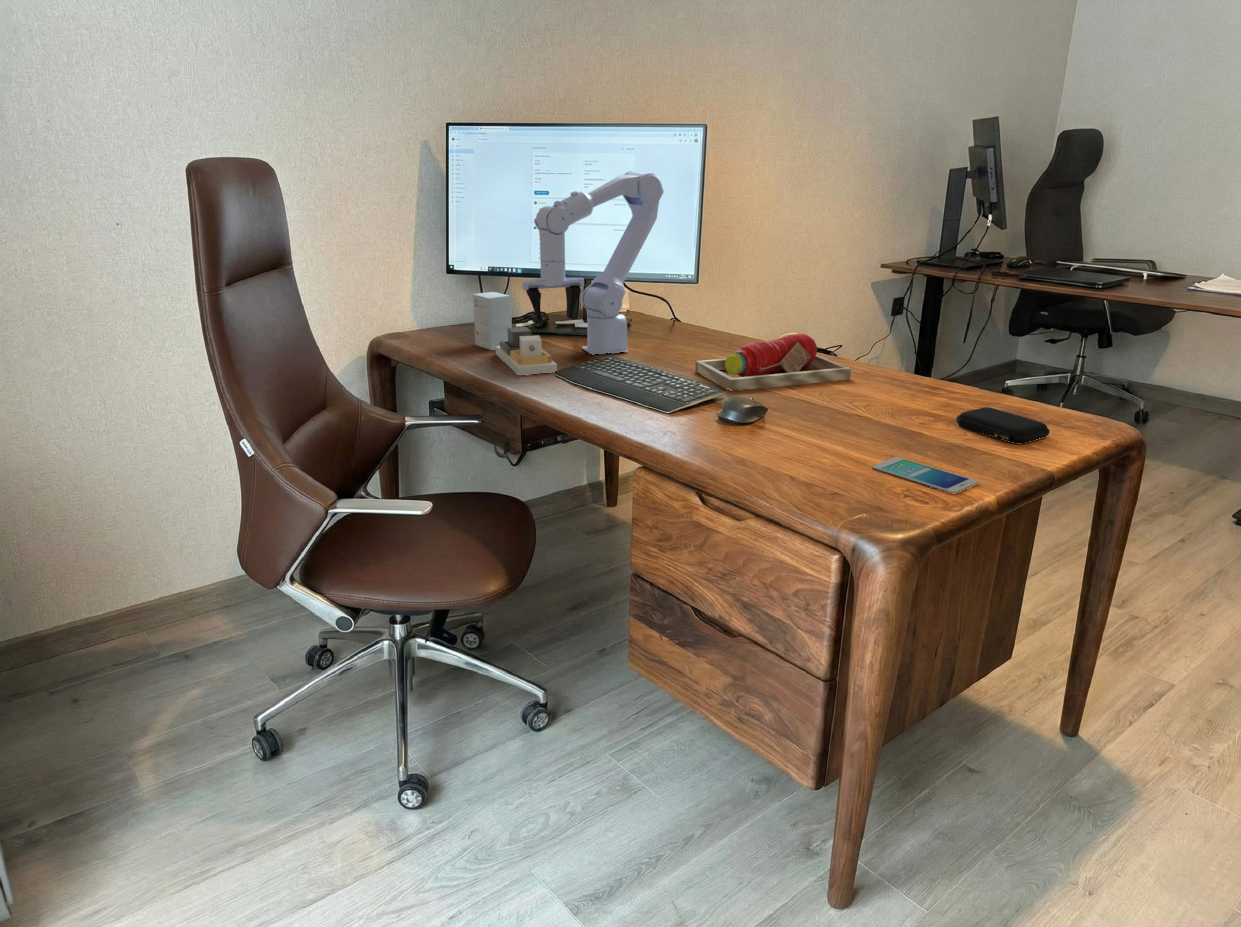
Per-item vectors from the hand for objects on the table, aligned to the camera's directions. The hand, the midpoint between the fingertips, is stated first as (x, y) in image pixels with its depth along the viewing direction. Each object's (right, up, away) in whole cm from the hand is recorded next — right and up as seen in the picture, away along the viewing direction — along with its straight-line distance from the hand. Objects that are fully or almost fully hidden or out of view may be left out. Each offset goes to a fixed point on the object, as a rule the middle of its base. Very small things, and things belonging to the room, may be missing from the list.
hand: (554, 318), depth 215 cm
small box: (-16, -5, +15) cm, 22 cm away
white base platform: (-6, -11, -2) cm, 13 cm away
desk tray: (+49, -14, -12) cm, 53 cm away
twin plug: (-8, -7, +2) cm, 11 cm away
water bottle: (+50, -14, -11) cm, 53 cm away
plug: (-5, -10, -7) cm, 14 cm away
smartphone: (+64, -37, -70) cm, 102 cm away
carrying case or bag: (+85, -29, -49) cm, 102 cm away
